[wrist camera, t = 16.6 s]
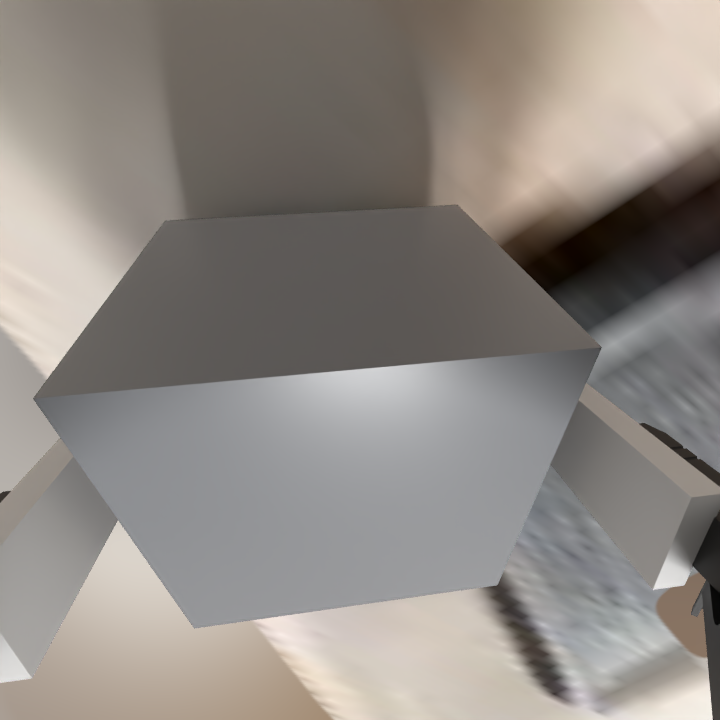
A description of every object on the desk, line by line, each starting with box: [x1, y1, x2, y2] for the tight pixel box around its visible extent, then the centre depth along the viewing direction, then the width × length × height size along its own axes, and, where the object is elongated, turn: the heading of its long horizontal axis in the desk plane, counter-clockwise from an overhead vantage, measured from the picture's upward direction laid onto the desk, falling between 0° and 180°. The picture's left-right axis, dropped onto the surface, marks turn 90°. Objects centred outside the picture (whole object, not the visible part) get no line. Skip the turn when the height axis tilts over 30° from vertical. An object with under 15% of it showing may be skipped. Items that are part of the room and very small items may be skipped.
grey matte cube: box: [33, 205, 602, 628], centre depth 14 cm, size 10×10×9 cm
